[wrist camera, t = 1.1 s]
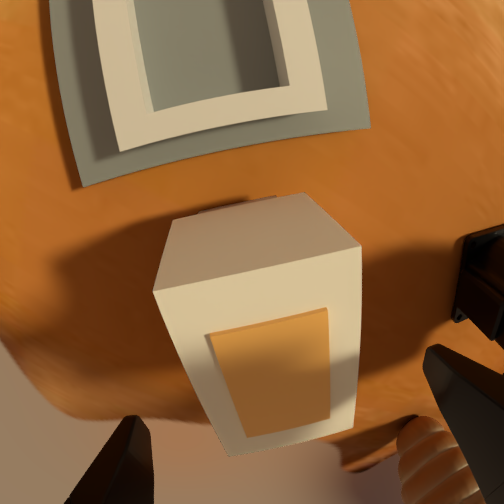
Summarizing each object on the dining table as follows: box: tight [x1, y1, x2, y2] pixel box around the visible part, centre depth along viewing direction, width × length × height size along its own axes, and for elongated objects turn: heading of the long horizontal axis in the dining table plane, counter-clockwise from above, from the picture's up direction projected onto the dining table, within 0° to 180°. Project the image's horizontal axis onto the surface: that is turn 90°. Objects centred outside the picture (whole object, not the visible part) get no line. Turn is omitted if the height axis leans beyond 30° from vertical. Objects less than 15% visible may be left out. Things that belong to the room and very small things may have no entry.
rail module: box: [153, 192, 362, 456], centre depth 12 cm, size 5×8×7 cm, turn 10°
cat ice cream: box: [396, 416, 486, 504], centre depth 16 cm, size 9×8×18 cm
